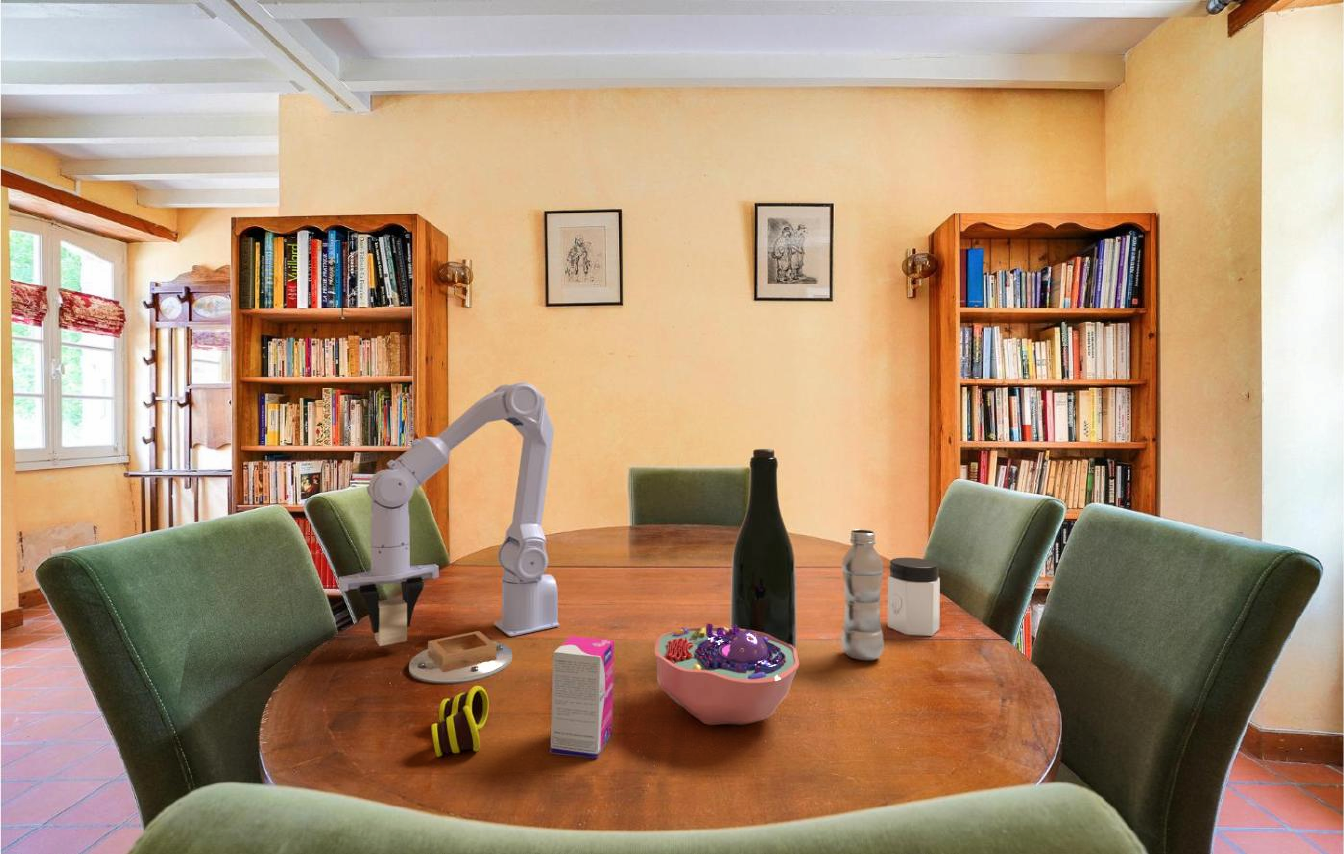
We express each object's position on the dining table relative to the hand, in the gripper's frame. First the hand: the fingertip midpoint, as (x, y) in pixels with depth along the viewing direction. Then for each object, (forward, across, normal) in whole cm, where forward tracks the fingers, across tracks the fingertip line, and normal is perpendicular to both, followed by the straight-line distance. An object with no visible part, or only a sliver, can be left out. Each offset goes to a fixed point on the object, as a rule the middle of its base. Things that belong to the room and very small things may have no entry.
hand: (390, 628), depth 98 cm
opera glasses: (+4, -1, +34) cm, 34 cm away
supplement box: (+4, -12, +43) cm, 45 cm away
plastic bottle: (+4, -60, +46) cm, 76 cm away
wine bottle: (+4, -48, +36) cm, 60 cm away
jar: (+4, -79, +43) cm, 90 cm away
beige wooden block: (+2, 0, 0) cm, 2 cm away
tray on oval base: (+4, -8, +11) cm, 14 cm away
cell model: (+4, -30, +47) cm, 56 cm away
